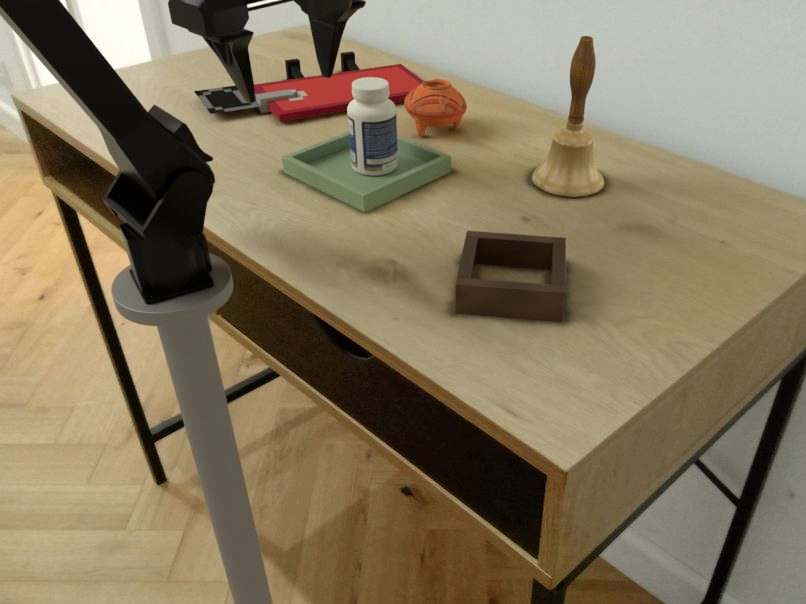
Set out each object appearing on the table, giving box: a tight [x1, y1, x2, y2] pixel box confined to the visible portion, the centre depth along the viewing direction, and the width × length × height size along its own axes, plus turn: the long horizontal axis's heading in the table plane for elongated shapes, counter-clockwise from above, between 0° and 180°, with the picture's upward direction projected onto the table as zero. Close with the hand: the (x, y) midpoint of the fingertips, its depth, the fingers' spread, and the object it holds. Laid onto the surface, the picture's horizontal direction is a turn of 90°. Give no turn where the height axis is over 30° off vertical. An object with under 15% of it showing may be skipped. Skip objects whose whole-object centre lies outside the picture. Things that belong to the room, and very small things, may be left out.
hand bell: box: [531, 35, 605, 198], centre depth 84 cm, size 8×8×16 cm
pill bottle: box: [346, 77, 398, 176], centre depth 87 cm, size 5×5×10 cm
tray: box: [281, 130, 452, 213], centre depth 89 cm, size 14×14×2 cm
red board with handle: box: [193, 51, 424, 122], centre depth 107 cm, size 30×3×15 cm
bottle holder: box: [454, 230, 567, 322], centre depth 71 cm, size 9×9×3 cm
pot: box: [403, 78, 468, 138], centre depth 98 cm, size 8×8×7 cm
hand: (289, 89), depth 74 cm, fingers open, 9 cm apart
